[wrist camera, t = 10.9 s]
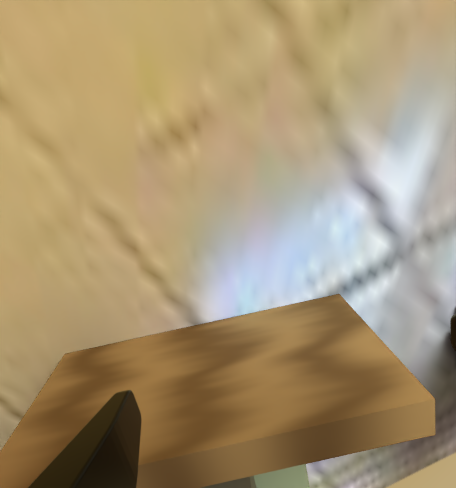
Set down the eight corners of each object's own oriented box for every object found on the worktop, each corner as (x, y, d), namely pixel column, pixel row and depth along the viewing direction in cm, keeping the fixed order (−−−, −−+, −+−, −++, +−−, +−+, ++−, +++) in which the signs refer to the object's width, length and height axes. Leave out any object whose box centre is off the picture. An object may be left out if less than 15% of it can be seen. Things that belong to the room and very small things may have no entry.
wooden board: (339, 293, 23) (434, 398, 14) (347, 368, 25) (435, 506, 16) (65, 353, 23) (-35, 503, 13) (95, 424, 25) (27, 599, 15)
